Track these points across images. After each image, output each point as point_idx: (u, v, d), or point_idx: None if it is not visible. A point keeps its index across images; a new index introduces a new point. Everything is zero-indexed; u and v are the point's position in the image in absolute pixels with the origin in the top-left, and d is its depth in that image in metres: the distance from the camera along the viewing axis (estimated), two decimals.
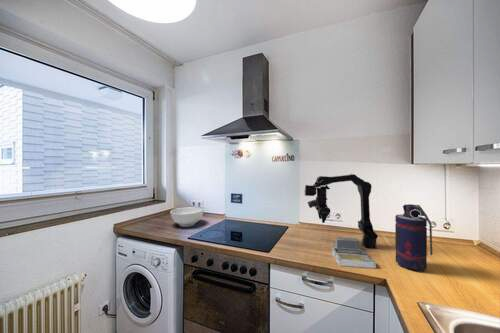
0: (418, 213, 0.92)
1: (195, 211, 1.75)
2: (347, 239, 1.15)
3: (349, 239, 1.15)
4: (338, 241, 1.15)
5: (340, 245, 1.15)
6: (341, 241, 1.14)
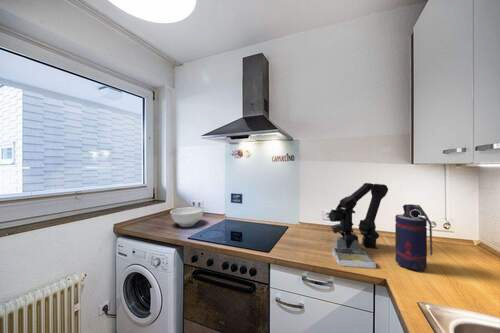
0: (418, 213, 0.92)
1: (195, 211, 1.75)
2: None
3: None
4: (338, 241, 1.15)
5: (340, 244, 1.15)
6: (341, 241, 1.14)
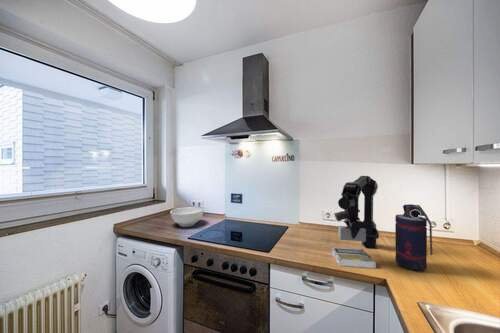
0: (418, 213, 0.92)
1: (195, 211, 1.75)
2: None
3: None
4: (342, 230, 1.01)
5: (344, 234, 1.01)
6: (345, 230, 1.01)
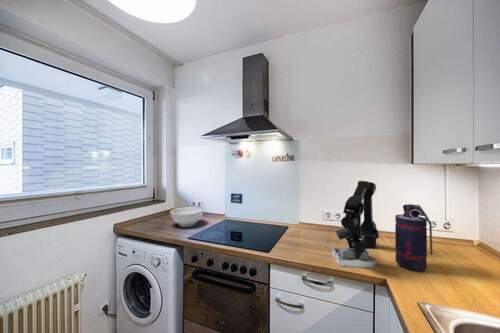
0: (418, 213, 0.92)
1: (195, 211, 1.75)
2: (354, 250, 0.98)
3: None
4: (344, 252, 0.98)
5: (346, 256, 0.98)
6: (347, 252, 0.98)
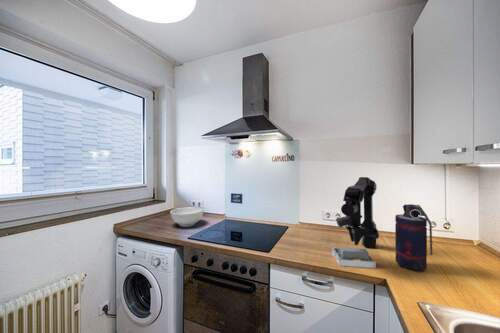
0: (418, 213, 0.92)
1: (195, 211, 1.75)
2: (354, 250, 0.98)
3: (357, 250, 0.98)
4: (344, 252, 0.98)
5: (346, 256, 0.98)
6: (347, 252, 0.98)
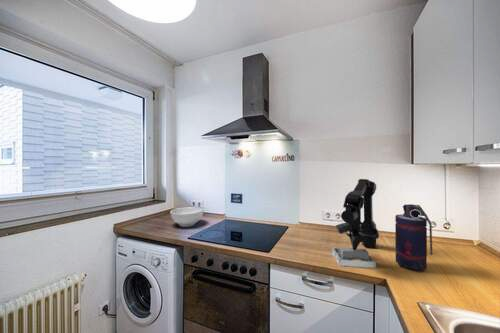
0: (418, 213, 0.92)
1: (195, 211, 1.75)
2: (354, 250, 0.98)
3: (357, 250, 0.98)
4: (344, 252, 0.98)
5: (346, 256, 0.98)
6: (347, 252, 0.98)
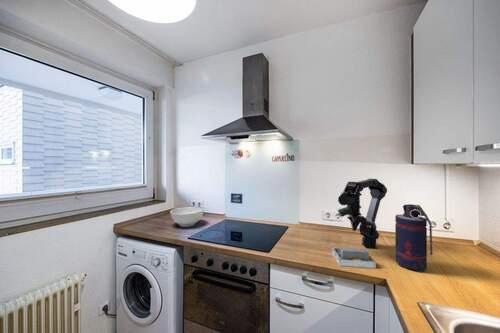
0: (418, 213, 0.92)
1: (195, 211, 1.75)
2: (354, 250, 0.98)
3: (357, 250, 0.98)
4: (344, 252, 0.98)
5: (346, 256, 0.98)
6: (347, 252, 0.98)
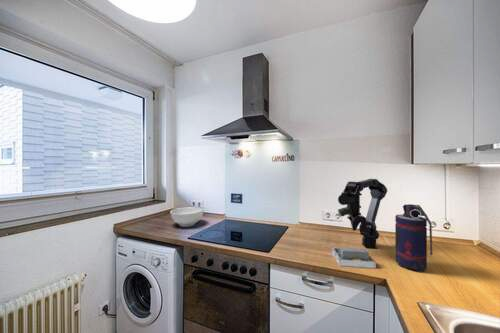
0: (418, 213, 0.92)
1: (195, 211, 1.75)
2: (354, 250, 0.98)
3: (357, 250, 0.98)
4: (344, 252, 0.98)
5: (346, 256, 0.98)
6: (347, 252, 0.98)
